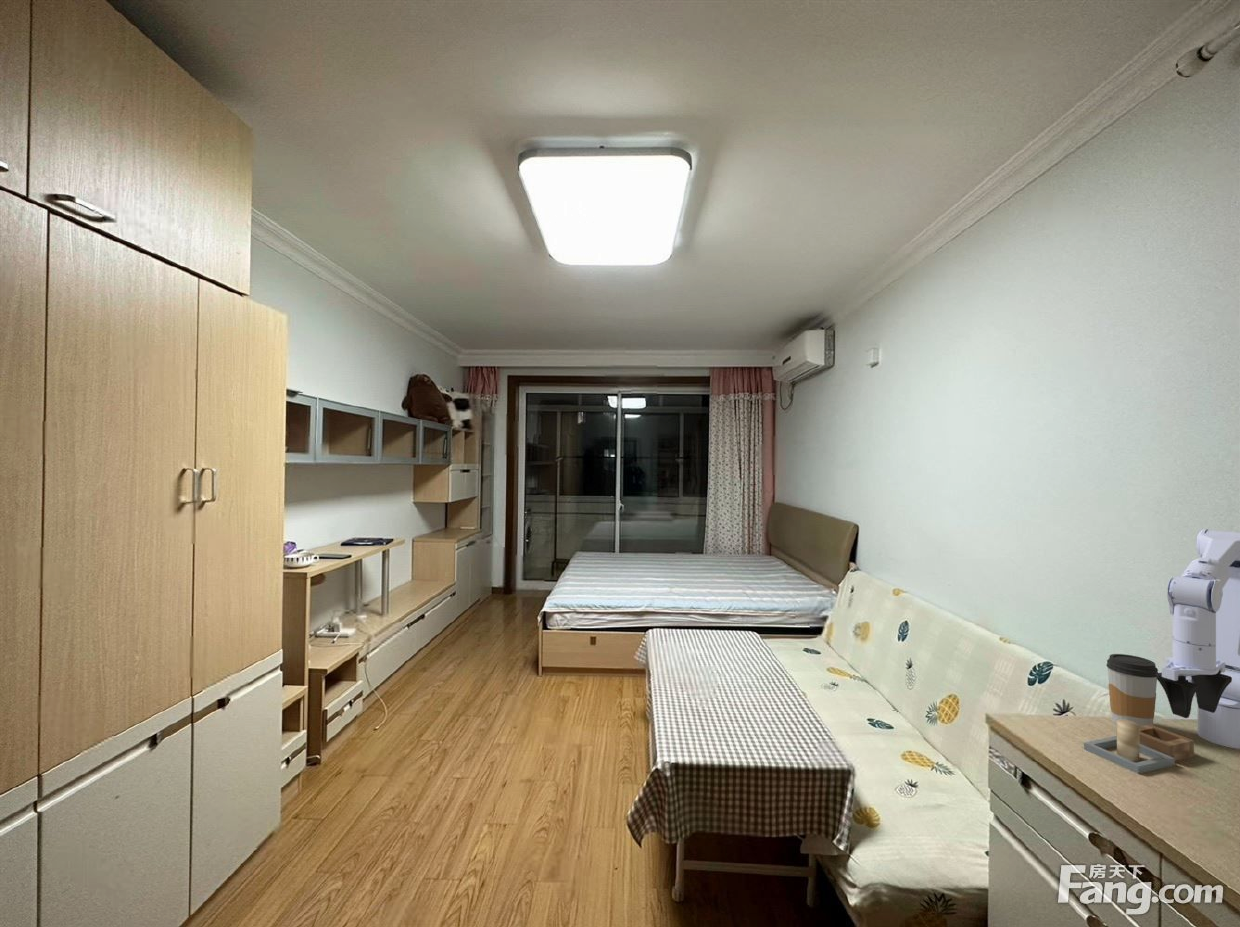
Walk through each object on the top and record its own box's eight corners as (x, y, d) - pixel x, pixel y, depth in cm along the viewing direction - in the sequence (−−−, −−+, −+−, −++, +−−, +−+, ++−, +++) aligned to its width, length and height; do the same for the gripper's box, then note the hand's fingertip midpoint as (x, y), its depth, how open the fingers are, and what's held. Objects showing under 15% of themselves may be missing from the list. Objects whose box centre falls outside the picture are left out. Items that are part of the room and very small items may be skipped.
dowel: (1124, 754, 108) (1124, 718, 108) (1143, 762, 105) (1143, 725, 105) (1112, 756, 107) (1112, 720, 107) (1132, 765, 104) (1132, 728, 104)
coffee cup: (1169, 740, 115) (1169, 668, 115) (1122, 736, 116) (1123, 665, 116) (1140, 721, 123) (1140, 654, 123) (1097, 718, 124) (1097, 651, 124)
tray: (1119, 746, 112) (1119, 735, 112) (1174, 770, 103) (1174, 758, 103) (1084, 754, 109) (1084, 742, 109) (1138, 779, 100) (1138, 766, 100)
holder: (1150, 743, 113) (1150, 724, 113) (1193, 761, 106) (1193, 740, 106) (1126, 748, 111) (1126, 729, 111) (1169, 767, 104) (1169, 746, 104)
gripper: (1191, 631, 110) (1191, 699, 110) (1142, 638, 106) (1142, 708, 106) (1240, 642, 103) (1240, 715, 103) (1189, 650, 99) (1189, 725, 99)
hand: (1193, 713), depth 104 cm, fingers open, 7 cm apart
